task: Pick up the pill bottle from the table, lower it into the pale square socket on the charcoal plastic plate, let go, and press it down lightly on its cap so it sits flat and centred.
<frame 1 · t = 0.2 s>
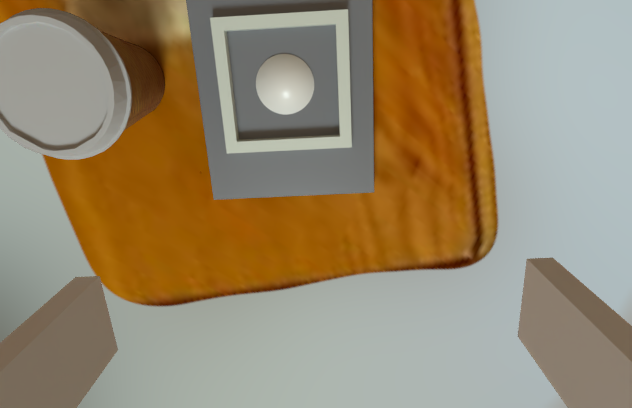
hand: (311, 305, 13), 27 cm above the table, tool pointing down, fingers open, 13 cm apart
socket plate: (286, 83, 37), on the table
disposable coffee cup: (130, 80, 38), on the table
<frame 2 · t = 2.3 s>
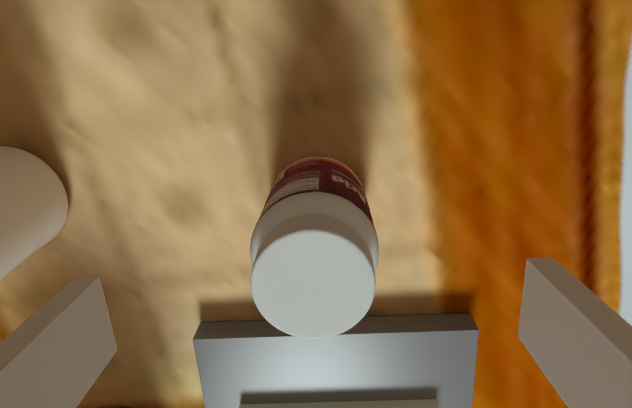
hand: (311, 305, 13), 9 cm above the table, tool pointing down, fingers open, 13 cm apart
pill bottle: (317, 198, 21), on the table
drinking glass: (24, 193, 22), on the table
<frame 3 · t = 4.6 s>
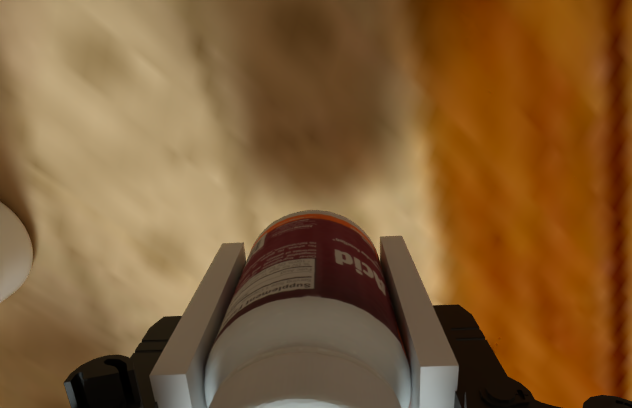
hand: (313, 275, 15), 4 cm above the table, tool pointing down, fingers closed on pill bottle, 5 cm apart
pill bottle: (313, 264, 15), point 3 cm above the table, touching gripper
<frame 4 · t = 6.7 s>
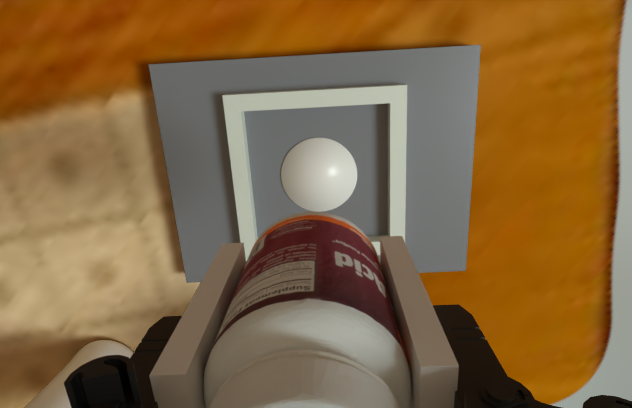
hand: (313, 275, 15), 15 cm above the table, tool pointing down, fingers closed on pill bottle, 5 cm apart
pill bottle: (313, 266, 15), point 14 cm above the table, touching gripper
socket plate: (319, 169, 29), on the table
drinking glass: (112, 361, 35), on the table
when the fingers open (3 cm above the table, at t = 9.2 s): pill bottle stays where it is, resting on socket plate.
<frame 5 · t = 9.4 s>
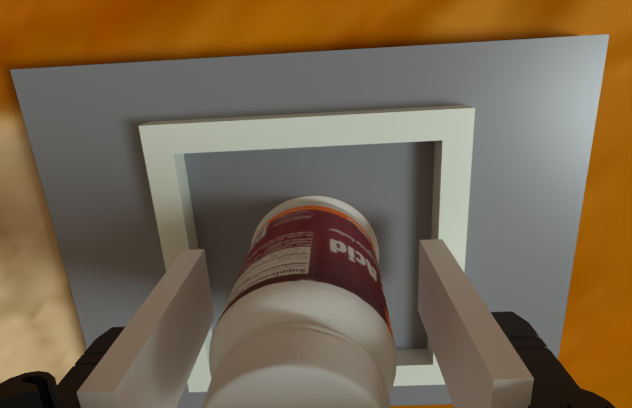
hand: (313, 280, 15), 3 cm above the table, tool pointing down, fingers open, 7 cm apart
pill bottle: (313, 253, 16), point 1 cm above the table, touching socket plate
socket plate: (315, 240, 18), on the table
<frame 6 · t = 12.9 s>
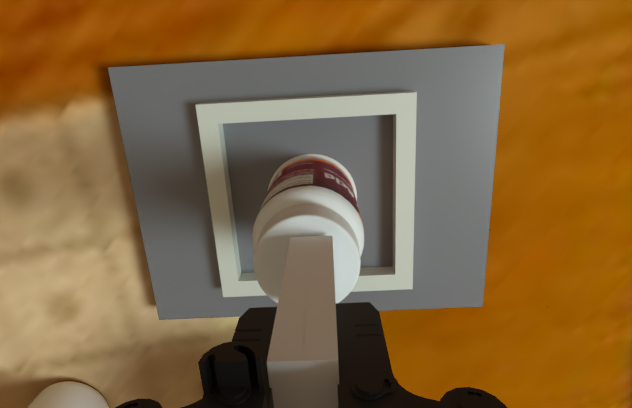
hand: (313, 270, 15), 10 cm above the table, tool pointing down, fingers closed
pill bottle: (311, 195, 24), point 1 cm above the table, touching gripper, socket plate
socket plate: (312, 189, 25), on the table
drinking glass: (78, 404, 31), on the table
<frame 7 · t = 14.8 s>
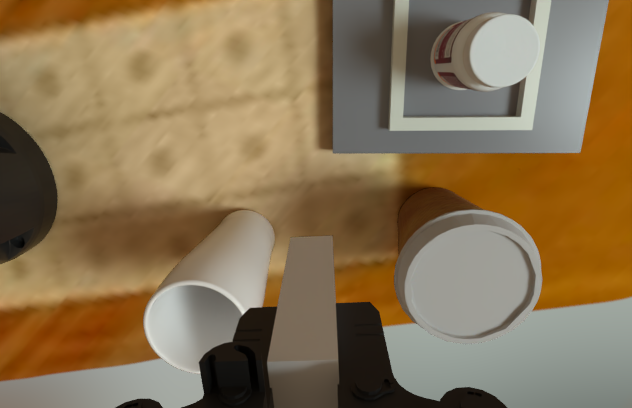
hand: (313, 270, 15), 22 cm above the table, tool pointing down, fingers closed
pill bottle: (462, 55, 32), point 1 cm above the table, touching socket plate
socket plate: (458, 56, 34), on the table
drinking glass: (248, 233, 40), on the table
disposable coffee cup: (432, 219, 38), on the table
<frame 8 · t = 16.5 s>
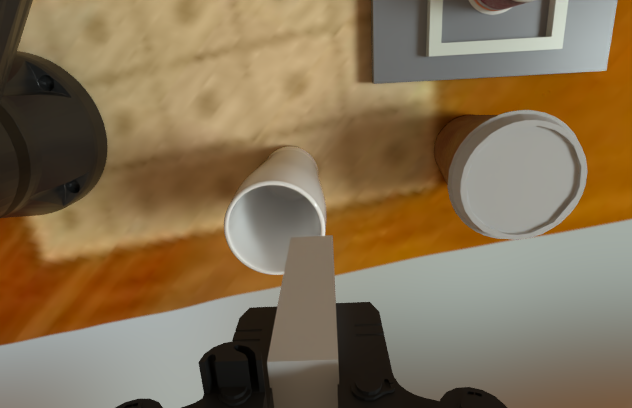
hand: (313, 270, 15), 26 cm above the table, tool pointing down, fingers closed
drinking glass: (291, 171, 42), on the table
disposable coffee cup: (466, 147, 40), on the table
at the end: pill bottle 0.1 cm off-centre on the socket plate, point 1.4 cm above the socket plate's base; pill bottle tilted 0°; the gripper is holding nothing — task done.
